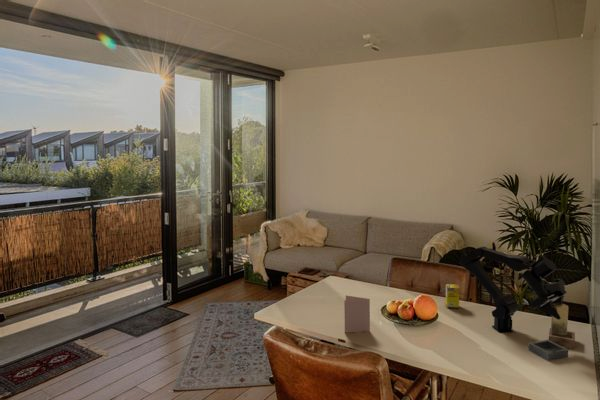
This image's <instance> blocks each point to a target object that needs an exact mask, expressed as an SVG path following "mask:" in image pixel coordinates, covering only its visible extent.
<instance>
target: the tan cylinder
mask: <svg viewBox="0 0 600 400" xmlns="http://www.w3.org/2000/svg"><path fill="white" fill-rule="evenodd" d="M553 307H554V308H555V310H556V311H557V313H558V314H559V316H560V317H561V319H559V320H558V319H556V318H555V317H553V316H551V320H550V321H551V323H550V328H551V332H552V333H554V334H558V335H566V334H567V331H568V320H569V305H567V304H565V303H564V304H561V303H553Z"/></svg>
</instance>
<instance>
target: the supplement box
mask: <svg viewBox="0 0 600 400" xmlns="http://www.w3.org/2000/svg"><path fill="white" fill-rule="evenodd" d="M444 304H445V307H446V308H447V307H448V308H447V309H453V308H459V309H460V287H459V285H458V284H453V283H452V284H451V283H446V284H445V302H444Z"/></svg>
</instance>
